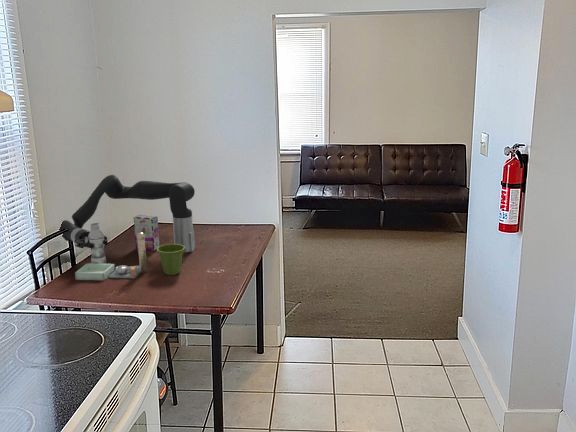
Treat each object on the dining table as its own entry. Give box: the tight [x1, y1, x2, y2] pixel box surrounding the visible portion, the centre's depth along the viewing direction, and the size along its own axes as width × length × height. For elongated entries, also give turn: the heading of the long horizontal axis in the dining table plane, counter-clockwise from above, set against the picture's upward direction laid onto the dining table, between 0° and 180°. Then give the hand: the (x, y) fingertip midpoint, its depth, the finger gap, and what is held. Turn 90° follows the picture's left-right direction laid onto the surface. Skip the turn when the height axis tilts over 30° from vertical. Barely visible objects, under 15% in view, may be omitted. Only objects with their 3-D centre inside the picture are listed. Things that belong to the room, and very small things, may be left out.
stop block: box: [131, 267, 135, 275], centre depth 233 cm, size 2×3×3 cm, turn 18°
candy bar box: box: [133, 214, 161, 252], centre depth 269 cm, size 11×5×16 cm, turn 68°
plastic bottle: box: [88, 222, 107, 264], centre depth 242 cm, size 6×7×20 cm
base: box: [108, 269, 142, 279], centre depth 235 cm, size 11×8×1 cm
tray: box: [74, 262, 116, 281], centre depth 234 cm, size 13×12×3 cm
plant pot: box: [156, 243, 185, 276], centre depth 236 cm, size 12×12×11 cm
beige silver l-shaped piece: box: [115, 232, 148, 274], centre depth 234 cm, size 13×5×17 cm, turn 106°
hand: (99, 244), depth 240 cm, fingers closed on plastic bottle, 6 cm apart
